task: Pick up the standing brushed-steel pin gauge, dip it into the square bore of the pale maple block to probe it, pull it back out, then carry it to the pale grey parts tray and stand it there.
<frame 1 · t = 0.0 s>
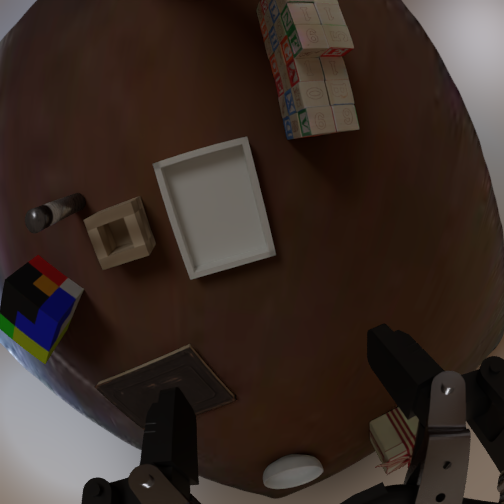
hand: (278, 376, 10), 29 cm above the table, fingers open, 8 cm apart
gift box: (385, 423, 64), on the table
stack of blocks: (291, 67, 32), on the table
puzzle toy: (52, 293, 37), on the table
cereal bowl: (288, 459, 62), on the table
pin gauge: (77, 201, 33), on the table
maple bore block: (126, 227, 36), on the table
tray: (215, 206, 37), on the table
hardcover book: (164, 388, 47), on the table
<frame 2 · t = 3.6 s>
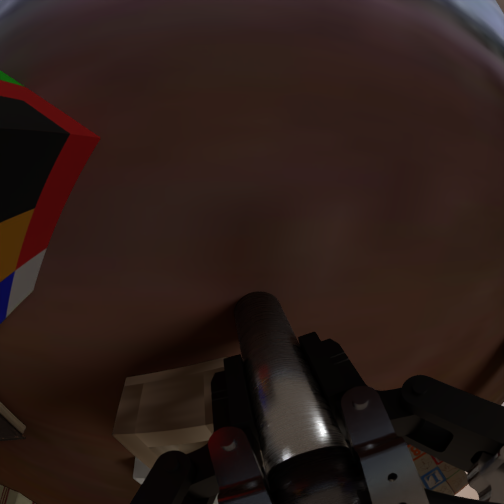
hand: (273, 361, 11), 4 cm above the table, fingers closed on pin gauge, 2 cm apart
gift box: (21, 496, 28), on the table
stack of blocks: (371, 467, 28), on the table
puzzle toy: (5, 176, 10), on the table
pin gauge: (257, 312, 15), on the table, touching gripper
maple bore block: (193, 400, 17), on the table
tray: (233, 472, 21), on the table
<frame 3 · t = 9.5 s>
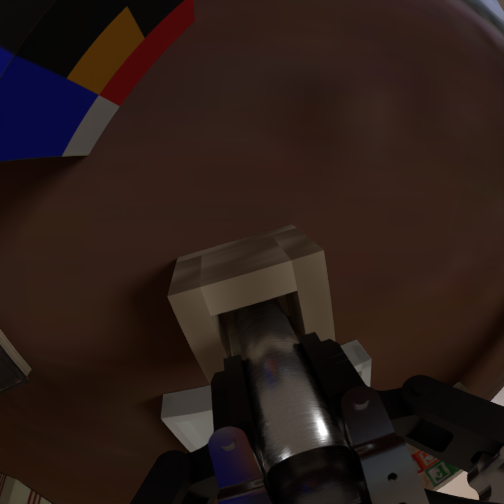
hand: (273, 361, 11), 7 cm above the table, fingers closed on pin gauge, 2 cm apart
gift box: (18, 484, 28), on the table
stack of blocks: (398, 425, 28), on the table
puzzle toy: (83, 52, 11), on the table
pin gauge: (257, 311, 15), point 2 cm above the table, touching gripper
maple bore block: (249, 291, 18), on the table
tray: (274, 414, 22), on the table
when the fingers open (6 cm above the table, at t = 15.4 s): pin gauge stays where it is, resting on tray.
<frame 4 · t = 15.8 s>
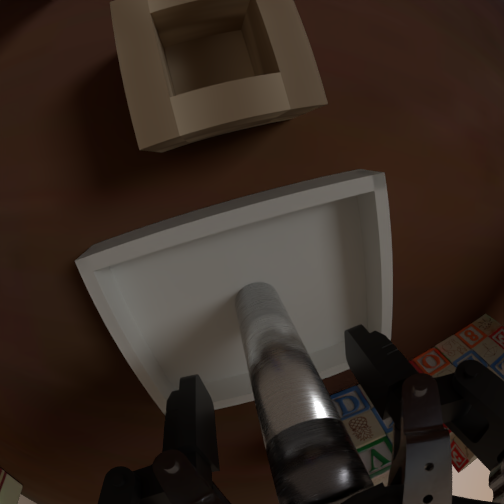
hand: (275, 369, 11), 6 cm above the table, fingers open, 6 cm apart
stack of blocks: (417, 371, 23), on the table
pin gauge: (257, 302, 16), point 1 cm above the table, touching tray
maple bore block: (211, 74, 12), on the table
tray: (252, 299, 17), on the table
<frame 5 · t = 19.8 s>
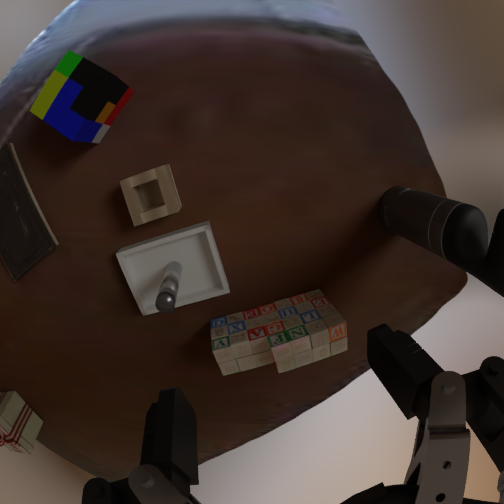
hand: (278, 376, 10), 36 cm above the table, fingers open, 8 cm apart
gift box: (15, 403, 52), on the table
stack of blocks: (268, 316, 52), on the table
puzzle toy: (95, 104, 35), on the table
pin gauge: (174, 268, 45), point 1 cm above the table, touching tray
maple bore block: (154, 192, 42), on the table
tray: (174, 267, 46), on the table
hardcover book: (12, 212, 38), on the table
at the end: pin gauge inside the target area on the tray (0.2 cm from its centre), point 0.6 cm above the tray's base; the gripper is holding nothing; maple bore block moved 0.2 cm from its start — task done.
